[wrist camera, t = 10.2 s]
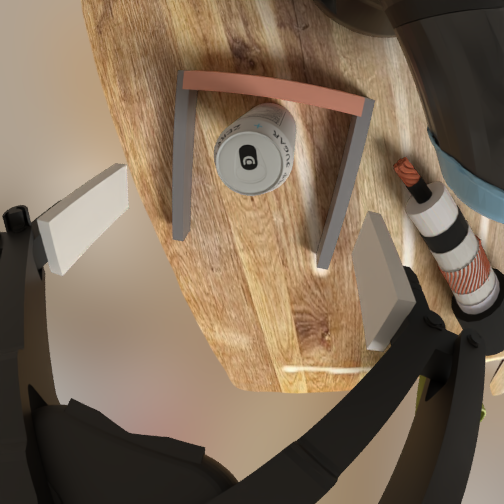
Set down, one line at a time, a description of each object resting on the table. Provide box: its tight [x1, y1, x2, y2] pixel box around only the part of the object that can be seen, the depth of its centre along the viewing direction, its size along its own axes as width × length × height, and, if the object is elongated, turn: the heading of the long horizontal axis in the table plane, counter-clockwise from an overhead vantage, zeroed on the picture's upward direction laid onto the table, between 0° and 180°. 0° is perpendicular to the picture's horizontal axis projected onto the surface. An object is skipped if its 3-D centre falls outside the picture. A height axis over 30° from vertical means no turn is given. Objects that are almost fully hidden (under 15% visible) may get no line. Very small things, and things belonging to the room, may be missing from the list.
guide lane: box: [172, 70, 375, 269], centre depth 33 cm, size 22×21×5 cm
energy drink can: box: [214, 103, 296, 196], centre depth 26 cm, size 6×6×15 cm
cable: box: [393, 157, 504, 356], centre depth 33 cm, size 10×34×10 cm, turn 45°
